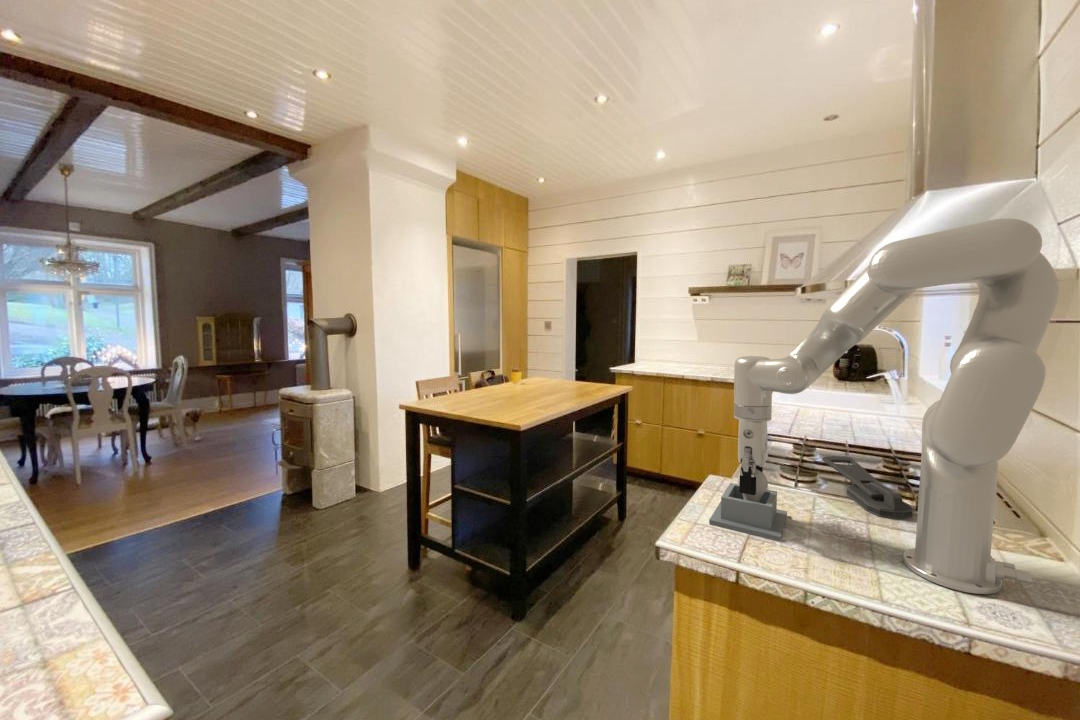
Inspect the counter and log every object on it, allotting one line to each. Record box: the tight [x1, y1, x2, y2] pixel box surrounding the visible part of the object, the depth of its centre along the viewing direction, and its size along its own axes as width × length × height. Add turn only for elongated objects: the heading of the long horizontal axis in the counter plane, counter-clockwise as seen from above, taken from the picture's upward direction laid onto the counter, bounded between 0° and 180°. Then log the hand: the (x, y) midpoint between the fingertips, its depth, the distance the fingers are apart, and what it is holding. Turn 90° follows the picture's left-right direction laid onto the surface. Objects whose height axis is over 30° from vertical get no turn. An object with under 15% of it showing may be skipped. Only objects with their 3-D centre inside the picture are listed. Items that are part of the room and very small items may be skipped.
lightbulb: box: [737, 468, 769, 503], centre depth 96 cm, size 6×6×11 cm
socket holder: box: [708, 482, 788, 542], centre depth 97 cm, size 14×14×6 cm
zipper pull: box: [821, 455, 914, 520], centre depth 108 cm, size 9×7×25 cm
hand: (751, 486), depth 96 cm, fingers open, 9 cm apart
